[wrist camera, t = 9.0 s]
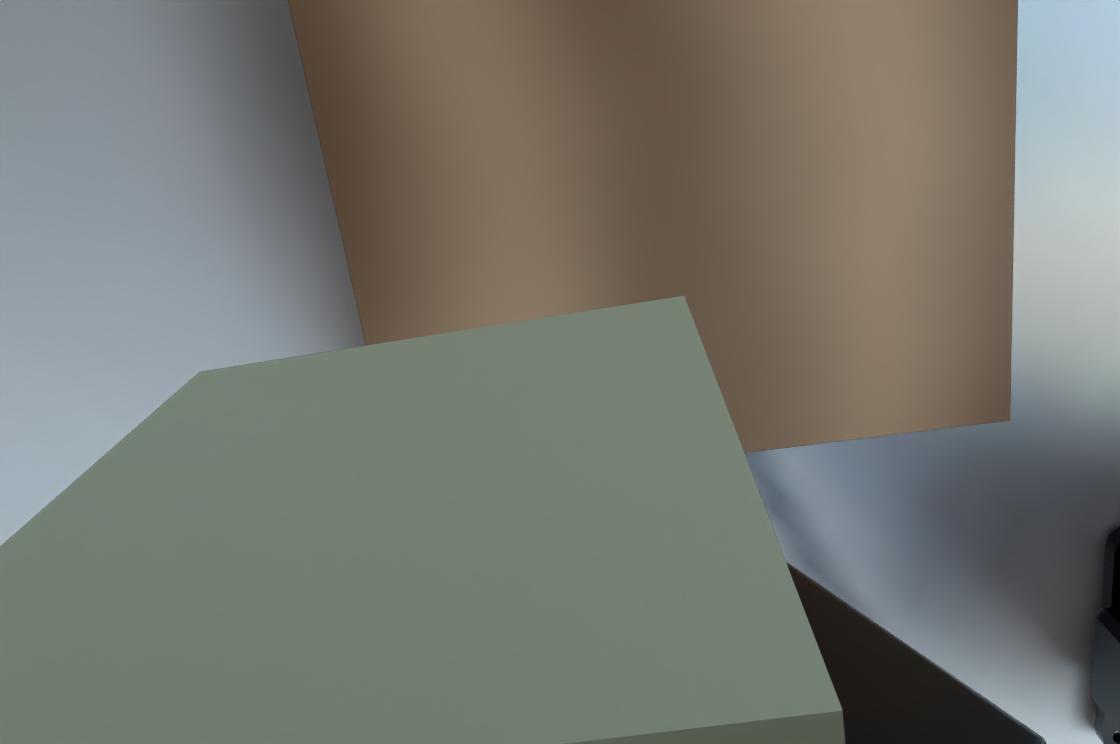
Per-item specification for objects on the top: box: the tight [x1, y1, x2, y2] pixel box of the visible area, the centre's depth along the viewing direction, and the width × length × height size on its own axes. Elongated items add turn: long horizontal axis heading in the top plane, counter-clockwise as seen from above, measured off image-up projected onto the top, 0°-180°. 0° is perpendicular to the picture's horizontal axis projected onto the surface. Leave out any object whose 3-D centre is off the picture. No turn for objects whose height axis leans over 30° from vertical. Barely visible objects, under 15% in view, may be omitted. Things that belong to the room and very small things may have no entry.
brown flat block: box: [288, 0, 1018, 453], centre depth 18 cm, size 12×12×4 cm
